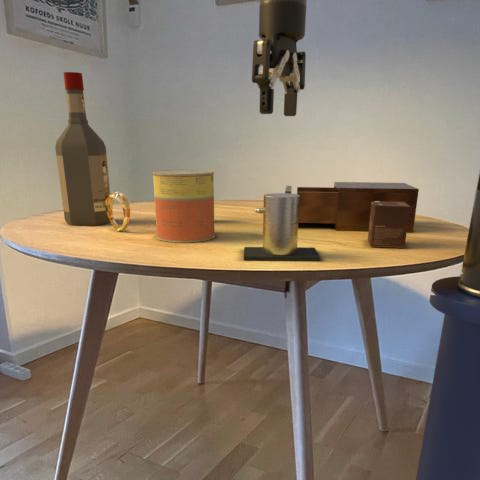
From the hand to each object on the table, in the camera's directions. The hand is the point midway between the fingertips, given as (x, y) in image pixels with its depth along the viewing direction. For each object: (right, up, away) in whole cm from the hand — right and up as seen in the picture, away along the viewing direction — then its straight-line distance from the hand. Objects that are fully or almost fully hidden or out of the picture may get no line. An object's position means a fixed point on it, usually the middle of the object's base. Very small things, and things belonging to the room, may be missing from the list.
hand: (278, 115), depth 81 cm
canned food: (-17, -19, +10) cm, 28 cm away
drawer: (+9, -13, +23) cm, 28 cm away
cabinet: (+22, -15, +22) cm, 34 cm away
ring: (-31, -17, +15) cm, 39 cm away
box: (+20, -22, +4) cm, 30 cm away
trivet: (0, -25, -4) cm, 25 cm away
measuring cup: (0, -24, -5) cm, 25 cm away
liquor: (-41, -14, +25) cm, 50 cm away
